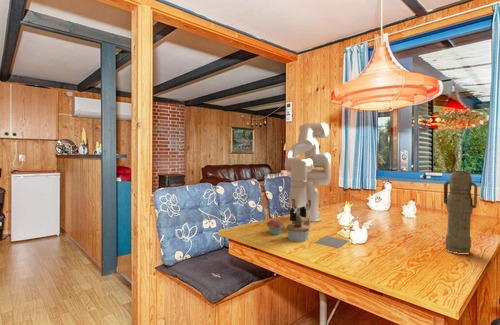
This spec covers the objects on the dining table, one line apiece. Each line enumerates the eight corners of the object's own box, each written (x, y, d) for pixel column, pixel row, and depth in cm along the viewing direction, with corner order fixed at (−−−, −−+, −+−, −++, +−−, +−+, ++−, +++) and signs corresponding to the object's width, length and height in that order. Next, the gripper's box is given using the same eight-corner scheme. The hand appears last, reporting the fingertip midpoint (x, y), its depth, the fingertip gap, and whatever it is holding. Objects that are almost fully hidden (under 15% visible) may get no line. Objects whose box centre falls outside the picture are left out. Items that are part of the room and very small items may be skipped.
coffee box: (301, 231, 155) (301, 201, 154) (291, 229, 159) (291, 200, 159) (310, 228, 161) (311, 199, 160) (301, 226, 166) (301, 198, 165)
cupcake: (282, 236, 146) (282, 212, 145) (265, 235, 147) (266, 211, 147) (283, 231, 154) (284, 209, 154) (268, 230, 156) (268, 208, 155)
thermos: (444, 246, 133) (447, 170, 131) (476, 252, 124) (479, 171, 123) (438, 250, 127) (441, 170, 125) (472, 257, 118) (475, 172, 117)
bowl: (294, 235, 148) (294, 225, 148) (311, 238, 142) (311, 228, 142) (284, 239, 140) (284, 229, 140) (301, 243, 134) (301, 232, 134)
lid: (293, 224, 148) (294, 212, 148) (312, 228, 142) (313, 216, 142) (282, 229, 140) (283, 216, 140) (302, 233, 134) (302, 219, 133)
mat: (326, 236, 146) (326, 235, 146) (349, 241, 138) (349, 240, 138) (313, 243, 135) (313, 242, 135) (338, 249, 127) (338, 248, 127)
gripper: (300, 181, 149) (300, 214, 150) (282, 185, 136) (282, 221, 137) (313, 183, 145) (313, 216, 146) (296, 186, 131) (296, 223, 132)
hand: (298, 218), depth 141 cm, fingers open, 9 cm apart
